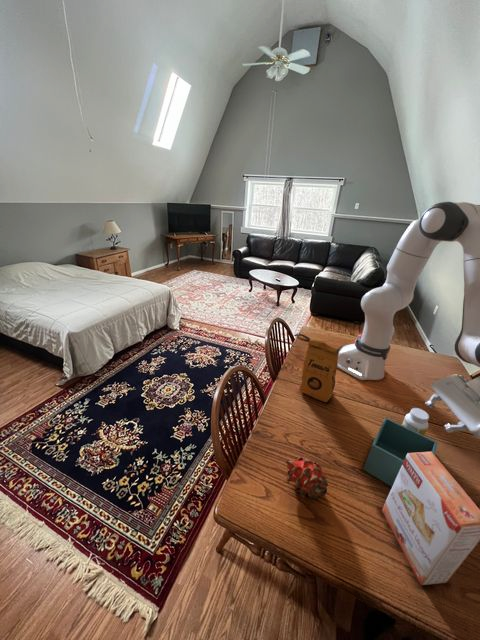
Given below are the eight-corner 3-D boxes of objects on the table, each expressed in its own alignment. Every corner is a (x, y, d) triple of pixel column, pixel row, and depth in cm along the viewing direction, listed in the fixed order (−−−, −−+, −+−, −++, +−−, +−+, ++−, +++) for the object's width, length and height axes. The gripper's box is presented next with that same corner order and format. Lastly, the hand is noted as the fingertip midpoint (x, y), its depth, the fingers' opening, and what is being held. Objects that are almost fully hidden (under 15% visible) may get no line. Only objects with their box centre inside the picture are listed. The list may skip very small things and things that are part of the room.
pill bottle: (417, 435, 87) (429, 409, 82) (422, 450, 81) (435, 423, 77) (396, 429, 88) (406, 403, 84) (399, 444, 83) (410, 417, 78)
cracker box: (379, 510, 65) (405, 451, 56) (402, 509, 65) (432, 449, 57) (419, 587, 52) (461, 525, 43) (447, 584, 53) (495, 523, 44)
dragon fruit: (323, 512, 65) (285, 481, 74) (339, 479, 68) (301, 453, 77) (312, 506, 60) (273, 473, 69) (330, 471, 63) (290, 443, 71)
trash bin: (363, 469, 75) (372, 444, 70) (376, 440, 84) (385, 417, 80) (417, 502, 67) (430, 476, 63) (425, 466, 76) (437, 442, 72)
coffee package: (326, 407, 96) (338, 355, 87) (295, 392, 103) (303, 343, 93) (335, 393, 103) (348, 344, 94) (306, 380, 110) (314, 333, 101)
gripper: (454, 365, 84) (412, 388, 89) (508, 413, 66) (452, 438, 70) (463, 378, 86) (421, 399, 91) (519, 428, 67) (463, 452, 72)
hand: (435, 417), depth 80 cm, fingers open, 8 cm apart
